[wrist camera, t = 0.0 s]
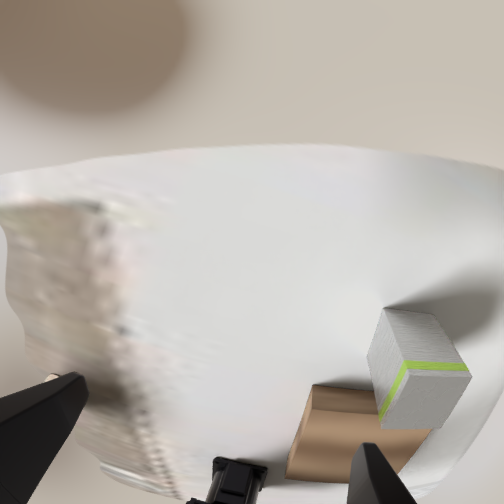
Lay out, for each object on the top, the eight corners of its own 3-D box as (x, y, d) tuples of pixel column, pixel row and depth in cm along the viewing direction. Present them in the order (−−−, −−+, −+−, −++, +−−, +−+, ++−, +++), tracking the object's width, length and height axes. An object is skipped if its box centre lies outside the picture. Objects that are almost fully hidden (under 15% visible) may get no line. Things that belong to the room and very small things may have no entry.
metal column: (414, 360, 22) (440, 428, 14) (366, 356, 23) (380, 429, 15) (433, 314, 21) (472, 376, 13) (382, 307, 21) (409, 375, 14)
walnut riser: (389, 463, 26) (391, 483, 23) (287, 457, 28) (284, 478, 25) (435, 393, 23) (443, 414, 20) (312, 384, 24) (311, 408, 21)
